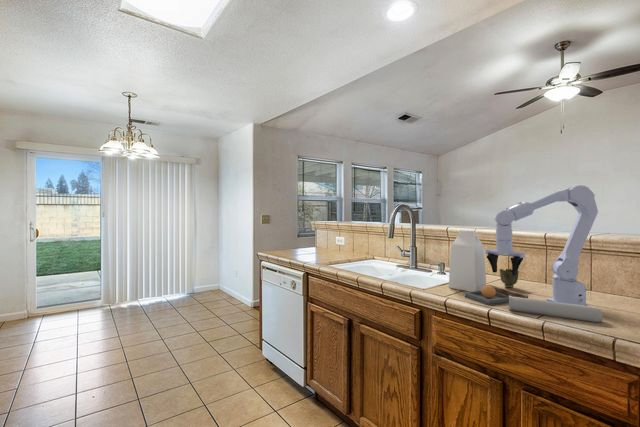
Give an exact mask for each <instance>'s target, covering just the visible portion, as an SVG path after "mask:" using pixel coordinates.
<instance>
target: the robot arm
mask: <svg viewBox="0 0 640 427" xmlns="http://www.w3.org/2000/svg"><path fill="white" fill-rule="evenodd" d="M595 196H596V194H595V193H594V192H593V191H592V190H591V189H590V187H588V186H586V185H581V184H580V185H575V186H571V187H568V188H565V189H561V190H557V191H555V192H551V193H549V194H547V195H544V196H543V197H541V198H538V199H536V200H534V201H531V202H529V201H519V202H517V204H515V205H513V206H511V207H508V206H507V207H505V208H504V209H505V210H504V209H503V210H501V211H499V212H497V213H496V214H495V218H494V220H495V222H496V224H495V227H496V228H495V249H489V248H487V249H484V255H486V259H487V260H488V262H489V264H490V266H491V271H492V273H497V272H498V260H499V256H503V257H510V262H511V270H512V275H517V271H519V269H520V265H521V263H522V262H523V261H524V258H526V252H522V251H516V250H515V251H514V250H513V229H512V226H513V225H512V223H513V221H514V222H516V221H520V220H522V219H524V218H526V217H529V216H532V215H533V213H534V212H535V210H537V209H540V208H543V207H546V206H548V205H551V204H553V203H556V202H559V203H560V202H567V203H568V204H570V205H571V206H572V207H574V209H575V210H576V211H577V213H578V214H577V216H576V219H575V221H574V224H573V226H572V228H571V231H570V232H569V233H570V234H569V236H568V238H567V240H566V243H565V245H564V248H563V250H562V252H561V253H560V254H558V255H559V256H558V257H557V259H556V260H554V261H553V262H552V264H551V270H552V271H553V273H554V274H553V275H552V298H551V297H550V298H549V297H548V298H546V301H552V302H560V303H568V304H576V305H584V306H588V303H587V288H586V284H584V283H583V282H581V281H578V279H577V276H578V275H579V264H580V256H581V253H582V250H583V249H584V246H585V243H586V241H587V239H588V237H589V235H590V231H591V230H592V227H593V225H594V223H595V221H596V218H597V216H598V212H599V209H598V206H597V202H596V199H595Z"/></svg>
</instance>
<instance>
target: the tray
mask: <svg viewBox="0 0 640 427" xmlns="http://www.w3.org/2000/svg"><path fill="white" fill-rule="evenodd" d="M464 297H465V298H468V299H470V300H472V301H476V302H477V303H482V304H484V305H487V306H495V305H502V304H509V296H507V295H504V294H500V293H497V292H496V294H495V296H494V297H492V298H486V297H484V296H483V294H482V292H481V290H480V291H474V292H471V291H466V292H464Z"/></svg>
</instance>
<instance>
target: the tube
mask: <svg viewBox="0 0 640 427" xmlns="http://www.w3.org/2000/svg"><path fill="white" fill-rule="evenodd" d="M508 310H509V311H510V312H518V313H519V312H520V313H525V314H526V313H527V314H535V315H541V316H548V317H555V318H561V317H562V318H563V319H569V320H577V321H584V322H591V323H602V322H603V318H604V314H603V312H602V310H601V308H598V307H596V306H594V305H593V306H591V305H576V304H568V303H560V302H553V301H549V300H543V299H536V298H534V299H533V298H529V297H528V298H520V297H512V296H510V295H509V303H508Z"/></svg>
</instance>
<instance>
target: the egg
mask: <svg viewBox="0 0 640 427" xmlns="http://www.w3.org/2000/svg"><path fill="white" fill-rule="evenodd" d="M490 285H491V284H486V285H485V286H483V288H482V290H480V291H481V292H482V294H483V296H484V297H486V298H492V297H494V296H495V294H496V290H495V288H494V287H492V286H493V285H492V286H490Z"/></svg>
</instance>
